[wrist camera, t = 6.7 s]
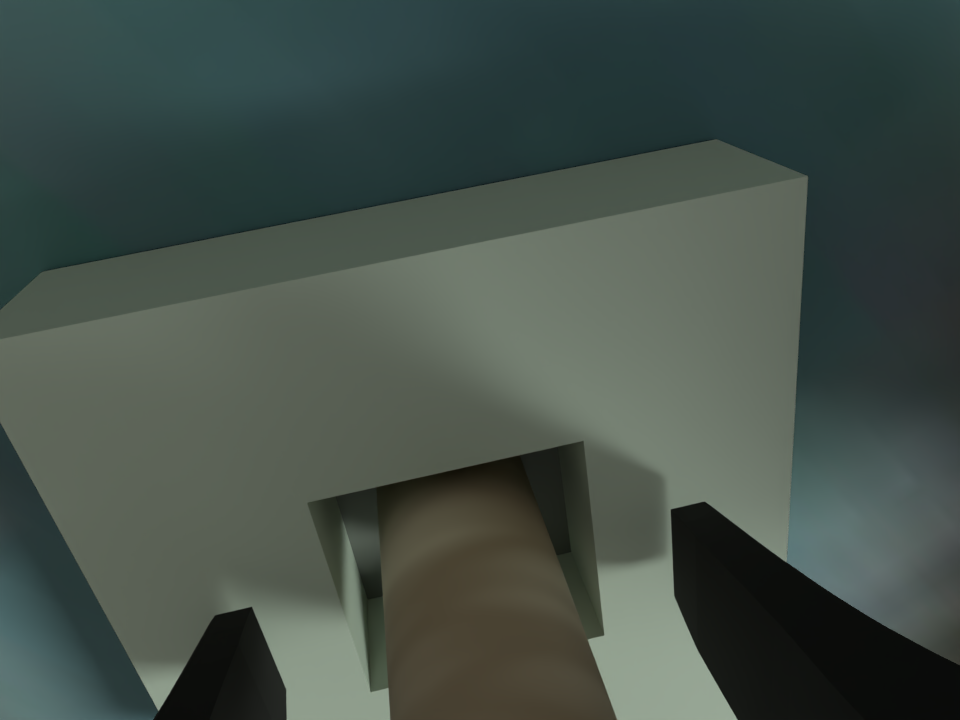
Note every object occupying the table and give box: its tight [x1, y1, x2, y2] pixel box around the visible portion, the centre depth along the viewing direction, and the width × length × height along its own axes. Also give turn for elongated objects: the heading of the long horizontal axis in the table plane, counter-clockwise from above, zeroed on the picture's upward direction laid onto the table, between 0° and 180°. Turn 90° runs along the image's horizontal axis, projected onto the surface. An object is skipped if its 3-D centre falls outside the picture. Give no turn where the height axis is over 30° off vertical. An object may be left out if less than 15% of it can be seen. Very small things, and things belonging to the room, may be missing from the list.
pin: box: [376, 455, 617, 720], centre depth 12 cm, size 3×3×7 cm
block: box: [0, 139, 808, 720], centre depth 14 cm, size 12×12×3 cm
